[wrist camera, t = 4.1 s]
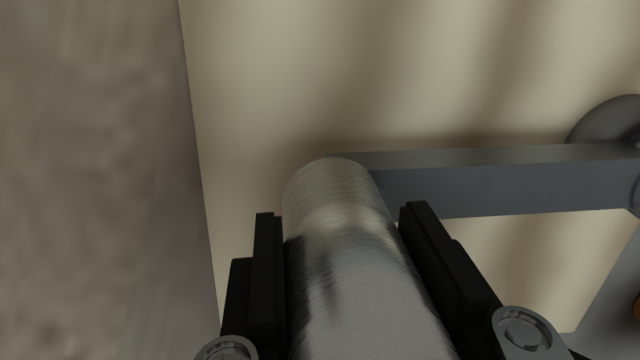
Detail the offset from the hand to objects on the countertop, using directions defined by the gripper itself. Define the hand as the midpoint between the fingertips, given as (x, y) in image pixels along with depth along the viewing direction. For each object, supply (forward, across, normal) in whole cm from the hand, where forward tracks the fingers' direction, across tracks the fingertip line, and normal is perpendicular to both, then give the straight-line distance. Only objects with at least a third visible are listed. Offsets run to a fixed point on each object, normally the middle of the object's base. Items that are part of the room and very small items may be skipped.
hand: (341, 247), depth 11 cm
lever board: (+8, -7, +4) cm, 11 cm away
